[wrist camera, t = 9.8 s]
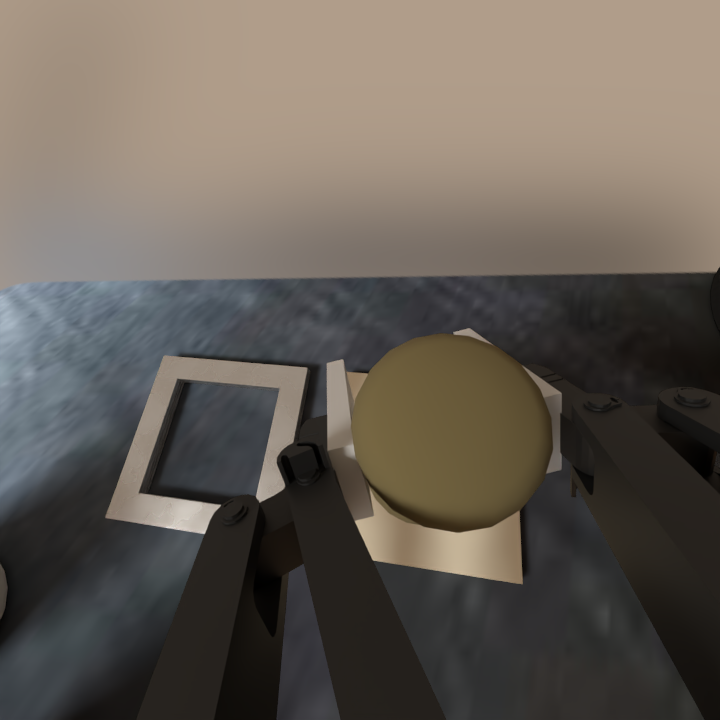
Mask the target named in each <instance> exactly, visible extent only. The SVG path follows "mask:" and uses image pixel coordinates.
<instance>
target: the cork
mask: <svg viewBox="0 0 720 720" xmlns="http://www.w3.org/2000/svg"><path fill="white" fill-rule="evenodd" d="M351 432H352V439H353V445H354V452H355V457H356V459H357V461H358V463H359V465H360V467H361V470H362V472H363V474H364V476H365V478H366V480H367V482H368V484H369V488H370V490H371V492H372V494H373V496H374V498H375V499H376V500H377V501H378V503H379V504H380V505H381V506H382V507H383V508H384V509H385V510H386V511H387V512H388V513H389V514H391V515H393V516H395V517H397V518H398V519H400V520H402V521H404V522H406V523H411V524H417V525H421V526H423V527H427V528H432V529H438V530H444V531H450V532H455V533H461V532H467V531H472V530H478V529H484V528H490V527H493V526H495V525H496V524H498V523H500V522H501V521H503V520H505V519H506V518H508V517H510V516H511V515H513V514H515V513H516V512H518V511H520V510H521V509H522V508H523V506H524V505H525V504H526V503H527V501H528V500H529V499H530V498H531V496H532V495H533V494H534V492H535V491H536V490H537V488H538V487H539V486H540V485H541V483H542V482H543V481H544V479H545V475H546V472H547V469H548V465H549V462H550V459H551V455H552V452H553V436H552V418H551V415H550V413H549V410H548V408H547V405H546V402H545V400H544V397H543V395H542V392H541V390H540V388H539V387H538V385H537V384H536V383H535V381H534V380H533V379H532V378H531V376H530V375H529V374H528V373H527V371H526V370H525V369H524V367H523V366H522V365H521V364H520V363H519V362H517V361H516V360H515V359H513V358H512V357H510V356H509V355H508V354H506V353H505V352H504V351H502V350H501V349H499V348H498V347H497V346H494V345H492V344H489V343H486V342H484V341H481V340H479V339H476V338H473V337H471V336H465V335H454V334H443V333H439V334H434V335H429V336H423V337H418V338H413V339H411V340H409V341H408V342H406V343H404V344H402V345H400V346H398V347H396V348H394V349H392V350H390V351H389V352H388V353H387V354H386V355H385V356H384V357H383V358H382V359H381V360H380V361H379V362H378V363H377V364H376V365H375V366H374V367H373V368H372V369H371V370H370V371H369V373H368V375H367V377H366V379H365V381H364V383H363V385H362V387H361V388H360V390H359V392H358V394H357V396H356V398H355V404H354V410H353V416H352V422H351Z"/></svg>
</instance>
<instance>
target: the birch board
mask: <svg viewBox="0 0 720 720" xmlns="http://www.w3.org/2000/svg"><path fill="white" fill-rule="evenodd" d="M367 375H368V374H366V373H354V372H347V376H348V380H349V384H350V387H351V391H352V395H353V399H354V402H355V398H356V396H357V394H358V392H359V390H360V388H361V387H362V385H363V383H364V381H365V379H366V377H367ZM370 494H371V500H372V506H373V512H374V516H372V517H368V518H364V519H360V520H356V521H355V523H356V525H357V527H358V529H359V531H360V534H361V536H362V538H363V540H364V542H365V545H366V547H367V549H368V551H369V553H370V555H371V558H372V560H374V561H380V562H387V563H393V564H399V565H405V566H412V567H418V568H424V569H430V570H437V571H443V572H449V573H455V574H462V575H468V576H474V577H480V578H486V579H493V580H499V581H505V582H511V583H518V584H523V581H522V557H521V534H520V511H518V512H516V513H515V514H513V515H511V516H510V517H508V518H506V519H505V520H503V521H501V522H500V523H498V524H496V525H495V526H493V527H490V528H484V529H478V530H472V531H467V532H461V533H455V532H450V531H444V530H438V529H432V528H427V527H423V526H421V525H417V524H411V523H406V522H404V521H402V520H400V519H398V518H397V517H395V516H393V515H391V514H389V513H388V512H387V511H386V510H385V509H384V508H383V507H382V506H381V505H380V504H379V503H378V501H377V500H376V499H375V498H374V496H373V494H372V492H371V490H370Z"/></svg>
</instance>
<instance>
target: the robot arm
mask: <svg viewBox="0 0 720 720" xmlns="http://www.w3.org/2000/svg"><path fill="white" fill-rule="evenodd" d="M711 307H712V312H713V316H714V319H715V322H716V324H717V327H718V329H719V331H720V268H719V269H718V271H717V273H716V275H715V277H714V279H713V283H712V287H711ZM453 333H454V335H465V336H471V337H473V338H476V339H479V340H481V341H484V342H486V343H489V344H491V343H490V342H488V341H487V340H485V339H484V338H483V337H481V336H480V335H478V334H477V333H476V332H474V331H473V330H471V329H470V328H468V329H464V330H460V331H456V332H453ZM492 345H493V344H492ZM523 367H524V369H525V370H526V371H527V373H528V374H529V375H530V376H531V378H532V379H533V380H534V381H535V383H536V384H537V385H538V387H539V388H540V390H541V392H542V395H543V397H544V400H545V402H546V405H547V408H548V410H549V413H550V415H551V418H552V436H553V452H552V455H551V459H550V462H549V465H548V469H547V472H546V473H550V472H554V471H559V470H562V455H563V456H564V457H565V458H566V459H567V460H568V461H569V462H570V463H571V486H570V492H571V496H572V497H576V489H577V488H578V489H579V491H580V493H581V496H582V497H583V499H584V500H585V502H586V504H587V506H588V508H589V509H590V511H591V513H592V515H593V517H594V519H595V520H596V522H597V524H598V526H599V528H600V530H601V531H602V533H603V535H604V537H605V539H606V540H607V542H608V544H609V546H610V548H611V550H612V551H613V553H614V555H615V557H616V559H617V561H618V562H619V564H620V566H621V568H622V570H623V571H624V573H625V575H626V577H627V579H628V581H629V582H630V584H631V586H632V588H633V590H634V592H635V593H636V595H637V597H638V599H639V601H640V603H641V604H642V606H643V608H644V610H645V612H646V613H647V615H648V617H649V619H650V621H651V623H652V624H653V626H654V628H655V630H656V632H657V634H658V635H659V637H660V639H661V641H662V643H663V644H664V646H665V648H666V650H667V652H668V654H669V655H670V657H671V659H672V661H673V663H674V665H675V666H676V668H677V670H678V672H679V674H680V676H681V677H682V679H683V681H684V683H685V685H686V686H687V688H688V690H689V692H690V694H691V696H692V697H693V699H694V701H695V703H696V705H697V707H698V708H699V710H700V712H701V714H702V716H703V717H704V719H705V720H720V468H718V467H717V466H715V460H716V456H717V452H718V453H720V395H718V394H715V393H712V392H709V391H706V390H702V389H696V388H693V387H677V388H669V389H666V390H663V391H661V393H660V394H659V395H658V403H657V405H642V406H629V405H628V404H627V403H626V402H624V401H623V400H621V399H620V398H618V397H615V396H612V395H609V394H602V393H585V392H584V391H582V390H581V389H579V388H577V387H576V386H574V385H573V384H571V383H570V382H568V381H566V380H565V379H564V380H563V378H562V377H560V376H559V375H555V373H554V372H552V371H551V370H549V369H548V368H546V367H543V366H540V365H536V364H533V363H532V364H528V365H524V366H523ZM354 404H355V402H354V399H353V395H352V391H351V387H350V384H349V380H348V376H347V372H346V368H345V365H344V361H343V359H342V360H338V361H334V362H330V363H327V415H324V416H320V417H316V418H312V419H308V420H306V421H305V423H304V424H303V425H302V427H301V428H300V435H299V441H296V442H294V443H292V444H290V445H288V446H287V447H285V448H284V449H283V450H282V451H281V452H280V454H279V455H278V457H277V466H278V468H279V471H280V473H281V476H282V478H283V481H284V483H285V486H286V487H285V488H284V489H283V490H282V491H280V492H279V493H277V494H275V495H274V496H272V497H270V498H268V499H266V500H264V501H262V502H259V500H258V499H257V498H256V497H255V496H252V495H249V494H247V495H240V496H237V497H234V498H232V499H230V500H228V501H227V502H225V503H224V504H222V505H221V506H220V507H219V508H218V509H217V510H216V511H215V512H214V514H213V516H212V517H211V519H210V521H209V524H208V527H207V530H206V532H205V535H204V538H203V540H202V543H201V546H200V548H199V551H198V554H197V557H196V559H195V562H194V565H193V567H192V570H191V573H190V575H189V578H188V581H187V583H186V586H185V589H184V592H183V594H182V597H181V600H180V602H179V605H178V608H177V610H176V613H175V616H174V619H173V621H172V624H171V627H170V629H169V632H168V635H167V637H166V640H165V643H164V645H163V648H162V651H161V654H160V656H159V659H158V662H157V664H156V667H155V670H154V672H153V675H152V678H151V681H150V683H149V686H148V689H147V691H146V694H145V697H144V699H143V702H142V705H141V707H140V710H139V713H138V716H137V718H136V720H276V717H277V705H278V693H279V682H280V670H281V658H282V646H283V634H284V623H285V611H286V599H287V587H288V576H289V572H290V571H292V570H293V569H295V568H297V567H299V566H300V565H302V564H304V566H305V570H306V575H307V579H308V583H309V587H310V592H311V596H312V600H313V604H314V608H315V613H316V617H317V621H318V625H319V630H320V634H321V638H322V642H323V647H324V651H325V655H326V659H327V663H328V668H329V672H330V676H331V680H332V685H333V689H334V693H335V697H336V702H337V706H338V710H339V714H340V719H341V720H446V718H445V716H444V714H443V711H442V709H441V707H440V705H439V703H438V701H437V698H436V696H435V694H434V692H433V690H432V688H431V685H430V683H429V681H428V679H427V677H426V675H425V672H424V670H423V668H422V666H421V664H420V662H419V659H418V657H417V655H416V653H415V651H414V649H413V646H412V644H411V642H410V640H409V638H408V636H407V633H406V631H405V629H404V627H403V625H402V623H401V620H400V618H399V616H398V614H397V612H396V610H395V607H394V605H393V603H392V601H391V599H390V597H389V594H388V592H387V590H386V588H385V586H384V584H383V581H382V579H381V577H380V575H379V573H378V571H377V568H376V566H375V564H374V562H373V560H372V558H371V555H370V553H369V551H368V549H367V547H366V545H365V542H364V540H363V538H362V536H361V534H360V531H359V529H358V527H357V525H356V523H355V521H356V520H360V519H364V518H368V517H372V516H374V512H373V506H372V500H371V494H370V488H369V484H368V482H367V480H366V478H365V476H364V474H363V472H362V470H361V467H360V465H359V463H358V461H357V459H356V457H355V452H354V445H353V439H352V432H351V422H352V416H353V410H354Z"/></svg>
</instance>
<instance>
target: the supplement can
mask: <svg viewBox="0 0 720 720" xmlns="http://www.w3.org/2000/svg"><path fill="white" fill-rule="evenodd" d="M7 590H8V586H7V581H6V576H5V571H4V569H3V568H2V566H1V564H0V620H1V618H2V615H3V613H4V610H5V605H6V597H7Z"/></svg>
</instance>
